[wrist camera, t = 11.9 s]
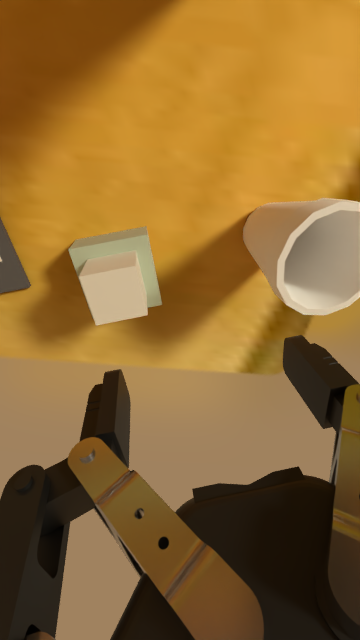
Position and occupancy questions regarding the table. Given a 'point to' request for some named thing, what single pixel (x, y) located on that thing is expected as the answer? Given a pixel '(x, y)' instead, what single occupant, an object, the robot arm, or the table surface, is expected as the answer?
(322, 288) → the foam cup
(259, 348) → the table surface
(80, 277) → the cream cube
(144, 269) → the green block
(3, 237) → the card
